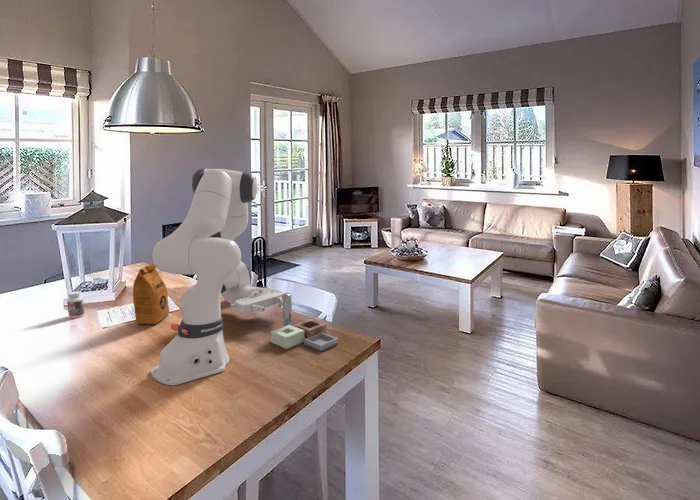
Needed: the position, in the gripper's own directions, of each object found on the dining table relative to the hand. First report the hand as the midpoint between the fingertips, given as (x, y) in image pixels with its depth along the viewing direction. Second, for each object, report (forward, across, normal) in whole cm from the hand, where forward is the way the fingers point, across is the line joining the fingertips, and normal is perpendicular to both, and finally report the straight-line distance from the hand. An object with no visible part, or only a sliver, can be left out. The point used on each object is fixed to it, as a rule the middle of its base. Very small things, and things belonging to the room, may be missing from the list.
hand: (273, 306), depth 167 cm
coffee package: (-40, -27, +8) cm, 49 cm away
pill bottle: (-68, -45, +8) cm, 82 cm away
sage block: (+15, -6, +8) cm, 18 cm away
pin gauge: (+8, 0, +8) cm, 11 cm away
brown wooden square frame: (+16, +3, +8) cm, 18 cm away
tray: (+25, 0, +8) cm, 26 cm away
